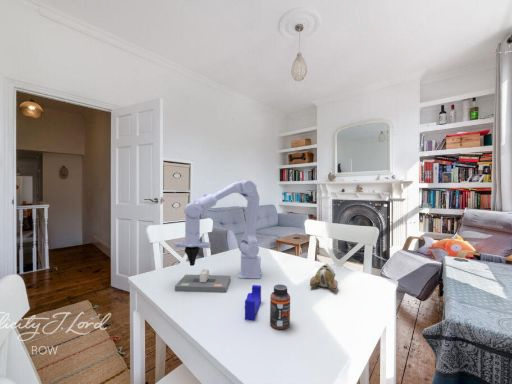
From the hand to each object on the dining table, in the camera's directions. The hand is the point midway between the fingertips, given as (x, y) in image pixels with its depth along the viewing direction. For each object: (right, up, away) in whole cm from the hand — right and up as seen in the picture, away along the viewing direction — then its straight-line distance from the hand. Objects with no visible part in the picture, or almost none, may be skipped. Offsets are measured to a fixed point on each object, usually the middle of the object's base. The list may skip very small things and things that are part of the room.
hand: (192, 264), depth 97 cm
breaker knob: (+5, -6, 0) cm, 8 cm away
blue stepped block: (+25, -9, -19) cm, 33 cm away
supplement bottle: (+33, -10, -27) cm, 44 cm away
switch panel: (+5, -8, 0) cm, 10 cm away
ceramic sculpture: (+55, -9, +1) cm, 56 cm away
